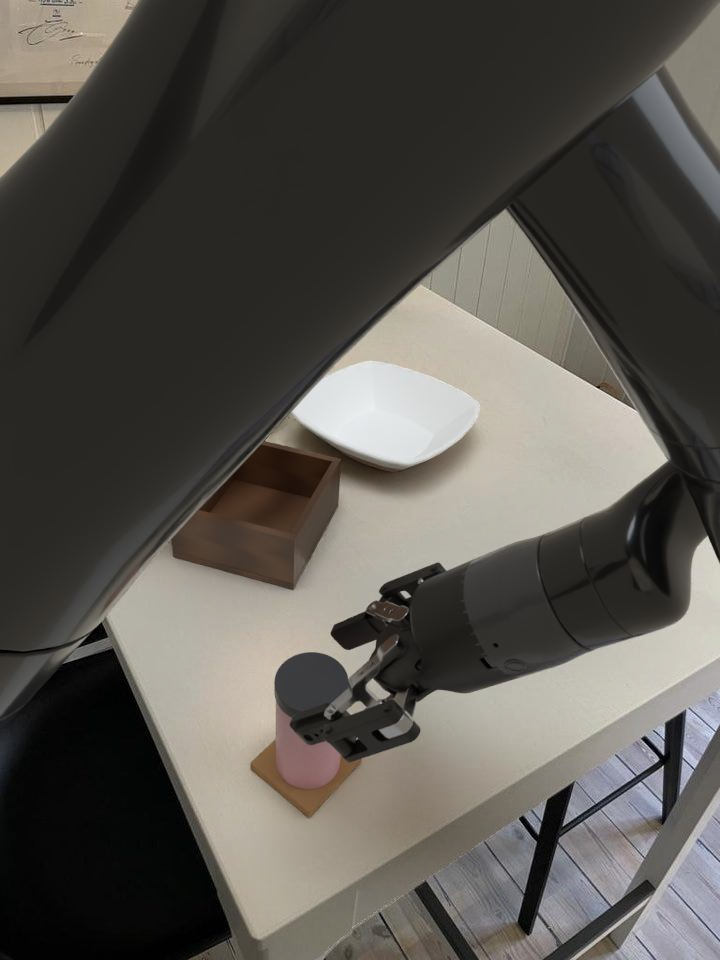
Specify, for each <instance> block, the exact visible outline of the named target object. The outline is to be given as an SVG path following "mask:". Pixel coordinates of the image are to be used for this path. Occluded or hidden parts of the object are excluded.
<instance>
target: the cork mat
mask: <svg viewBox="0 0 720 960" xmlns="http://www.w3.org/2000/svg"><path fill="white" fill-rule="evenodd" d="M361 762H362V759H359V760H356V761H353V762H347V761H346V760H345V759H344V758H343V757H342V755H341V760H340V767H339V770H338V772H337V774H336V775H335V777H334V778H333V779H332V780H331V781H330V782H329V783H327V784H326V785H324V786H322V787H319V788H315V789H300V788H296V787H294V786H292V785H290V784H288V783H287V782H286V781H285V780H284V779H283V778H282V777H281V776H280V774H279V772H278V770H277V766H276V738H275V739H274V740H273V741H272V742H271V743H270V744H269V745H268V746H267V747H265V748H264V749H263V750H262V752H260V753H259V754H258V755H257V756H256V757H255V758H254V759H253V760H252V761H250V764H249V765H250V769H251V770H252V771H253V772H254V773H255V774H256V775H257V776H259V777H260V778H261V779H263V781H265V782H266V783H267V784H268V785H269V786H271V788H272V789H274V790H275V791H277V792H278V794H280V795H281V796H282V797H284V798H285V799H286V800H287V801H288V802H289V803H290V804H292V805H293V806H294V807H295V808H296V809H298V810H299V811H300V812H301V813H302V814H303V815H305V816H306V817H307V818H308V819H309V818H311V817H312V816H313V815H314V814H315V813H316V811H317V810H318V809H319V808H320V807H321V806H322V805H323V804H324V803H325V802H326V801H327V799H328V798H329V797H330V796H331V795H332V794H333V793H334V792H335V791H336V790H337V789H338V788H339V786H340V785H341V784H342V783H343V782H344V781H345V780H346V779H347V778H348V777H349V776H350V775H351V773H352V772H353V771H354V770H355V769H356V768H357V767H358V766H359V765H360V764H361Z"/></svg>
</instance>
